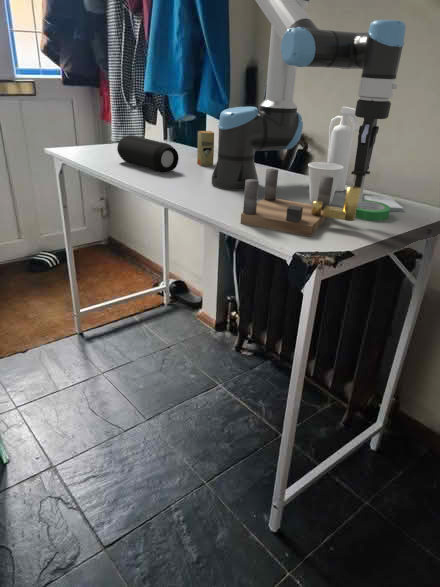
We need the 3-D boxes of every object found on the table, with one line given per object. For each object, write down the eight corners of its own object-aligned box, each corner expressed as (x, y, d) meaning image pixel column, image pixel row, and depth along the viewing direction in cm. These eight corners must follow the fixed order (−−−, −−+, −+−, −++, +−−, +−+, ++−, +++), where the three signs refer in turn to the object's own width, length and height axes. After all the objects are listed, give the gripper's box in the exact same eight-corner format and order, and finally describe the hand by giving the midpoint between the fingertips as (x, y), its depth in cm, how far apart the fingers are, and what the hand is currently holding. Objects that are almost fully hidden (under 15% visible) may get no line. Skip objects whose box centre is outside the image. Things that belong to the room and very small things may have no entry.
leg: (309, 214, 112) (314, 183, 108) (313, 211, 114) (317, 180, 111) (353, 221, 108) (359, 190, 104) (355, 218, 110) (361, 187, 107)
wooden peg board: (265, 205, 126) (268, 168, 122) (328, 216, 120) (334, 177, 115) (240, 223, 112) (243, 181, 107) (310, 236, 105) (317, 192, 101)
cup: (313, 197, 137) (318, 160, 132) (343, 204, 131) (349, 166, 126) (296, 203, 130) (301, 164, 125) (327, 211, 125) (333, 171, 119)
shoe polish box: (197, 163, 173) (197, 131, 168) (209, 163, 175) (210, 130, 169) (200, 166, 169) (201, 132, 164) (213, 165, 171) (214, 132, 165)
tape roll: (365, 223, 117) (367, 213, 116) (338, 210, 126) (340, 201, 125) (397, 219, 121) (399, 209, 120) (369, 207, 130) (371, 198, 129)
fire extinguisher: (324, 183, 153) (336, 104, 142) (353, 191, 145) (368, 108, 134) (311, 185, 149) (322, 105, 138) (340, 194, 141) (355, 109, 130)
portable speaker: (180, 172, 159) (180, 143, 155) (158, 176, 153) (157, 146, 148) (137, 160, 175) (136, 133, 170) (116, 163, 168) (114, 135, 164)
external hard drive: (374, 212, 128) (362, 200, 139) (403, 213, 128) (389, 201, 139) (375, 206, 127) (363, 194, 138) (404, 208, 127) (390, 196, 138)
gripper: (388, 102, 96) (366, 209, 107) (394, 99, 106) (374, 196, 117) (352, 99, 98) (335, 204, 109) (362, 96, 109) (345, 192, 120)
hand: (355, 200), depth 113 cm, fingers closed
